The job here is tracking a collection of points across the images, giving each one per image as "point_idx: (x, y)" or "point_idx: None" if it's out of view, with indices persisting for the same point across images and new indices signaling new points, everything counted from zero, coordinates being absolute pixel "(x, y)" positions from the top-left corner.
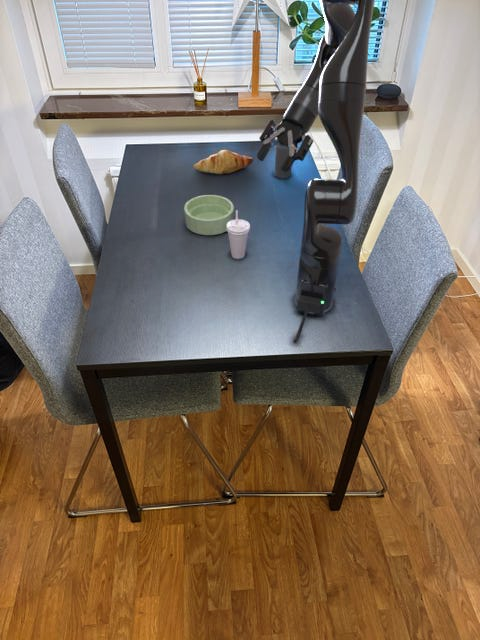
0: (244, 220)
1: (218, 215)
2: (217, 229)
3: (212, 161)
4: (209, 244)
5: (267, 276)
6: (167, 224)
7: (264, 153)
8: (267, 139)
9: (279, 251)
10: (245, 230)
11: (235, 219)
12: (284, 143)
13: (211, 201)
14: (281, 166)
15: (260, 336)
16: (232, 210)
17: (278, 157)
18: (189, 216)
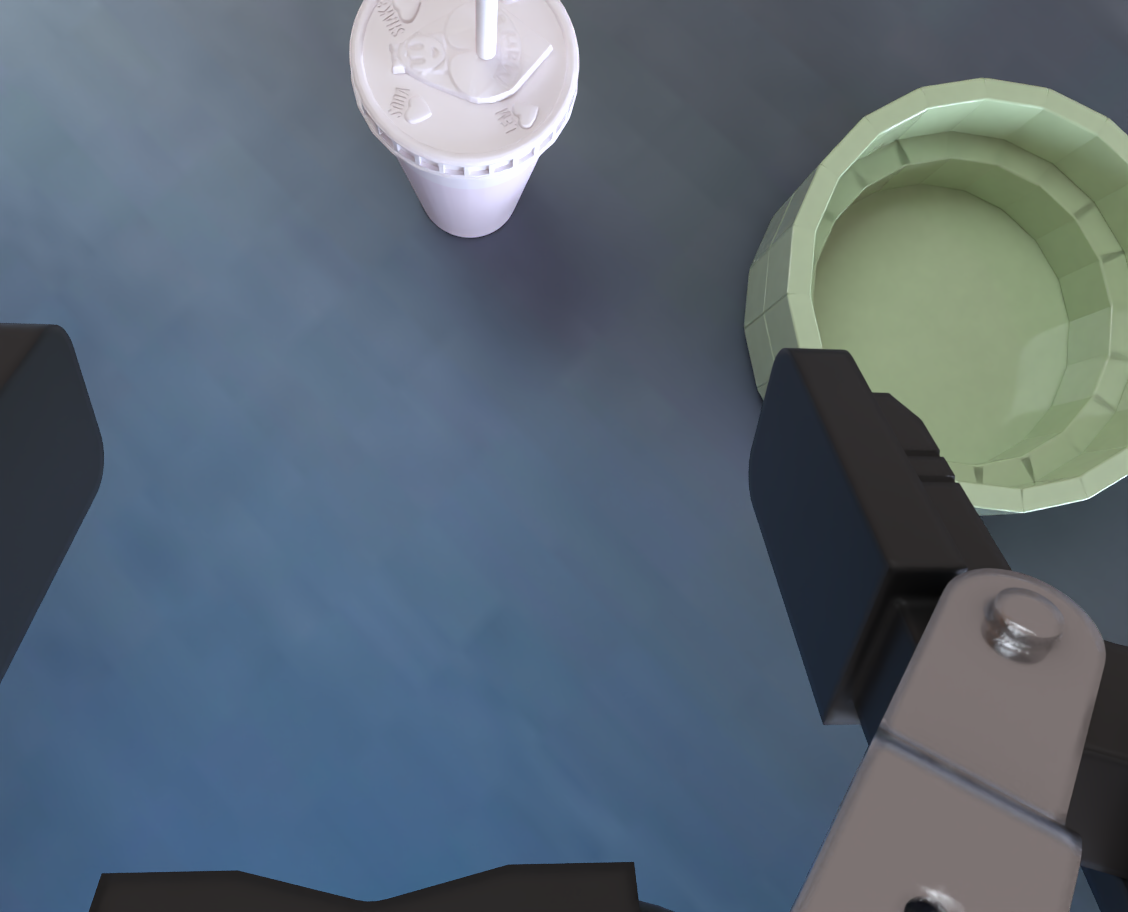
0: (486, 156)
1: (953, 437)
2: (771, 233)
3: None
4: (711, 139)
5: (130, 153)
6: (1107, 102)
7: (802, 524)
8: (1042, 726)
9: (277, 444)
10: (352, 37)
11: (560, 107)
12: (222, 887)
13: (1100, 443)
14: (34, 338)
15: None
16: None
17: None
18: (996, 80)
